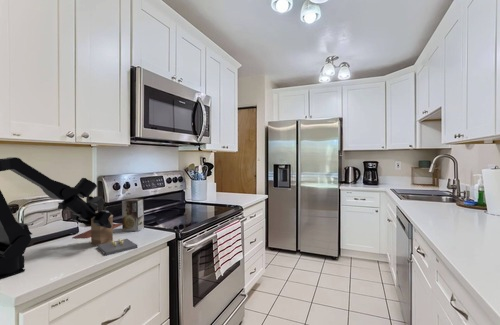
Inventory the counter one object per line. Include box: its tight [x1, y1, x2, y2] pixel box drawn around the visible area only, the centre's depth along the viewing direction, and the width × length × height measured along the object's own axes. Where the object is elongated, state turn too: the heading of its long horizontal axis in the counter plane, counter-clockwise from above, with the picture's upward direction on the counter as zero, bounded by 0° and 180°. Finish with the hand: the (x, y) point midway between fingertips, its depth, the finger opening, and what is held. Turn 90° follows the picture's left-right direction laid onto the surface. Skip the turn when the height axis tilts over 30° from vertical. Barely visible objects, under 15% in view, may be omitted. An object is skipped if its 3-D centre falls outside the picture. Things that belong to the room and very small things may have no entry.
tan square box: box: [90, 214, 114, 246], centre depth 113 cm, size 6×6×12 cm
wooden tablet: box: [72, 222, 122, 240], centre depth 132 cm, size 27×10×2 cm, turn 172°
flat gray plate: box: [96, 238, 138, 256], centre depth 107 cm, size 12×12×3 cm
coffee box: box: [121, 198, 145, 232], centre depth 135 cm, size 9×6×16 cm
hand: (103, 226), depth 114 cm, fingers open, 9 cm apart
